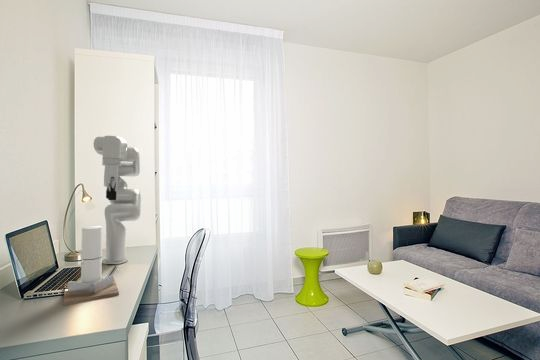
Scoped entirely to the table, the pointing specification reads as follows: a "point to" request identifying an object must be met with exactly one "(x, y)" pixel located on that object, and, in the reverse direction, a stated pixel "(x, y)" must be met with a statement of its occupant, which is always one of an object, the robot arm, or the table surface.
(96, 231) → the cylindrical container
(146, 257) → the table surface
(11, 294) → the table surface
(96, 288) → the v cradle
